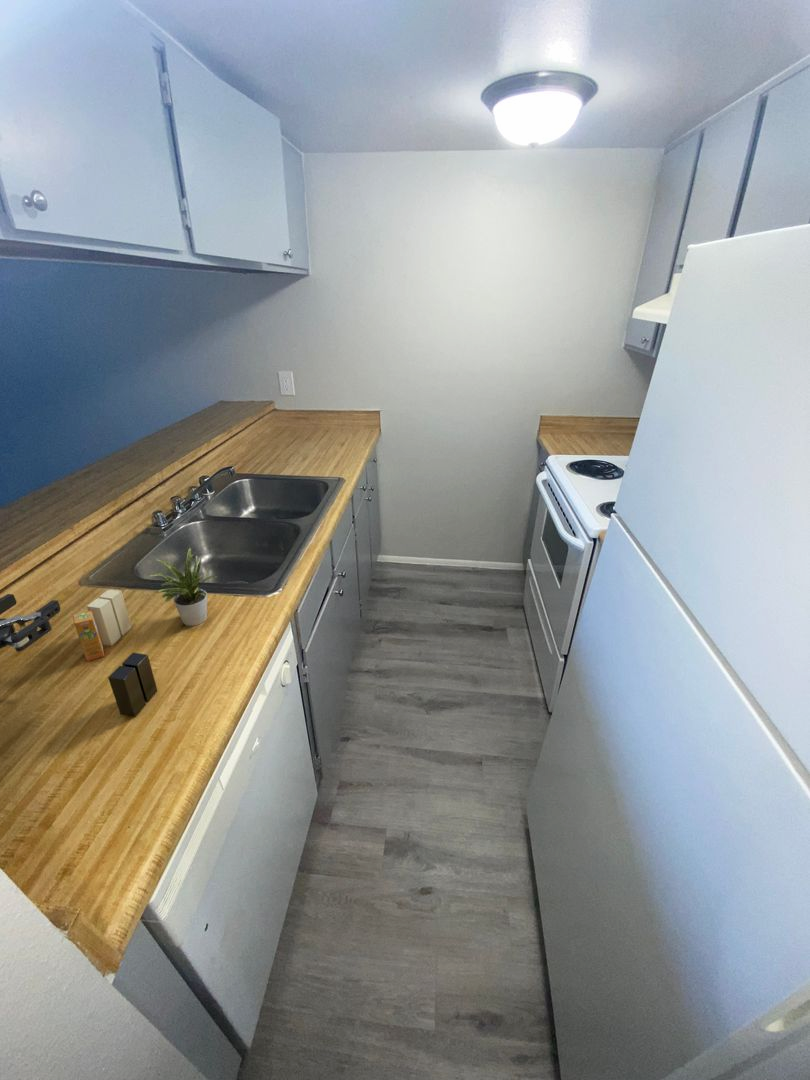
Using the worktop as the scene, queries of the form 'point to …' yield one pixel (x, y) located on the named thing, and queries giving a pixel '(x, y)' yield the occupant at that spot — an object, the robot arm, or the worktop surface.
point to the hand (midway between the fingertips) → (35, 601)
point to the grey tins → (133, 684)
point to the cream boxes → (110, 616)
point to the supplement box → (88, 635)
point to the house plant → (186, 592)
